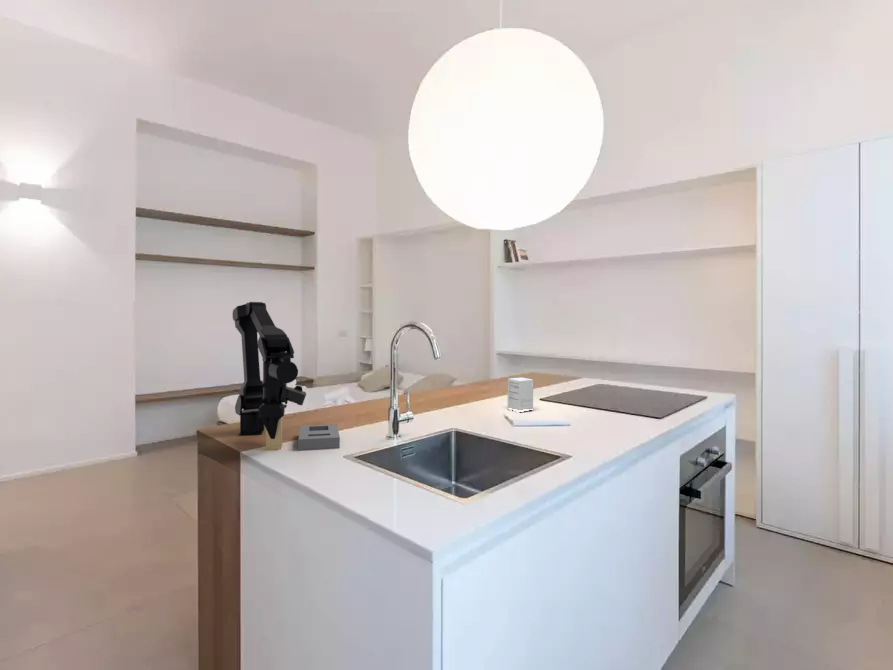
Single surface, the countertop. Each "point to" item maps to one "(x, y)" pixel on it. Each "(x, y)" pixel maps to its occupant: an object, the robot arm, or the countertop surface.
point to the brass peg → (276, 442)
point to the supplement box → (520, 393)
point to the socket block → (318, 437)
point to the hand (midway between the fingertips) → (274, 435)
